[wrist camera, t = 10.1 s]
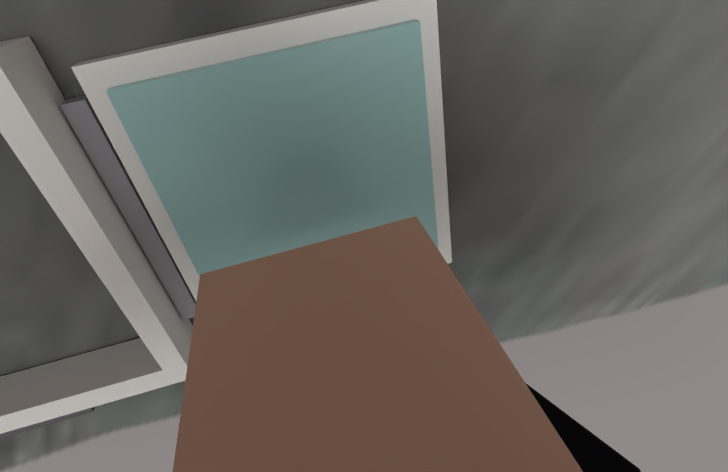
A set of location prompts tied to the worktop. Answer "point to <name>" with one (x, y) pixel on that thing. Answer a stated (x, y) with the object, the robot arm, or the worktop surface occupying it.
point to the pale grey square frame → (100, 247)
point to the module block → (354, 368)
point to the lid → (270, 136)
